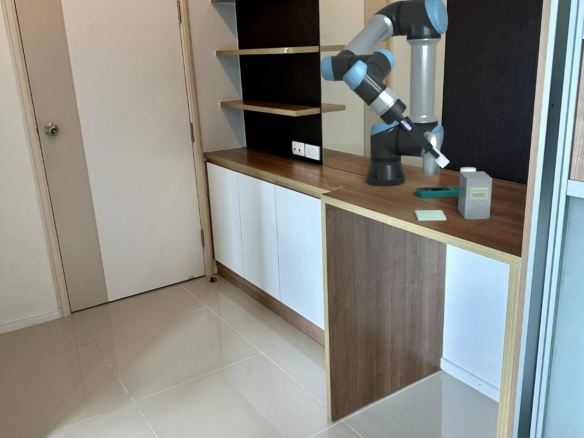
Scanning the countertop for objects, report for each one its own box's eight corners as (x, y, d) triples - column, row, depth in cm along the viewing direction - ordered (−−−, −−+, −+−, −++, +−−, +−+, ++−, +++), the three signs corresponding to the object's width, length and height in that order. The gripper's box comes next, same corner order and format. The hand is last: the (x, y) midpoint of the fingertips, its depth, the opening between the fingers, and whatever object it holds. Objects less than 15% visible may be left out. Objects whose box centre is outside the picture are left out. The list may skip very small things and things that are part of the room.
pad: (414, 213, 165) (414, 210, 165) (441, 212, 165) (441, 210, 164) (418, 220, 158) (418, 217, 158) (446, 220, 157) (446, 217, 157)
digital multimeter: (413, 194, 189) (414, 186, 188) (456, 192, 189) (456, 184, 188) (418, 200, 182) (419, 191, 181) (462, 198, 182) (463, 189, 181)
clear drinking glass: (421, 172, 161) (423, 132, 158) (437, 172, 160) (439, 132, 157) (423, 175, 156) (425, 134, 153) (439, 175, 156) (441, 134, 153)
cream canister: (457, 203, 174) (459, 167, 170) (472, 203, 173) (474, 166, 170) (460, 207, 169) (462, 170, 166) (475, 207, 169) (477, 169, 165)
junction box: (458, 209, 167) (459, 171, 163) (481, 209, 166) (483, 171, 163) (465, 219, 157) (467, 179, 153) (490, 219, 156) (492, 179, 152)
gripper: (377, 113, 164) (430, 166, 167) (380, 119, 147) (439, 178, 150) (395, 95, 162) (448, 149, 164) (400, 99, 145) (459, 159, 148)
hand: (444, 163), depth 157 cm, fingers closed on clear drinking glass, 5 cm apart
